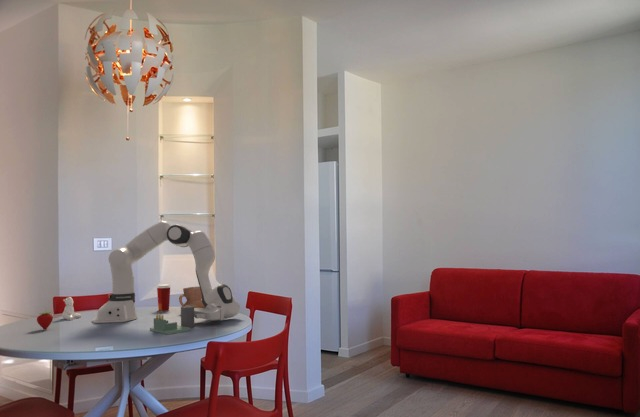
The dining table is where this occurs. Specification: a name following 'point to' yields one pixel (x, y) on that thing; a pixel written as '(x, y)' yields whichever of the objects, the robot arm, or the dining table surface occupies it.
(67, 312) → the white creature statuette
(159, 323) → the header board
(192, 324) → the plug block
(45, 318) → the strawberry
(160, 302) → the coffee cup
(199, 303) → the ceramic jug
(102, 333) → the dining table surface
